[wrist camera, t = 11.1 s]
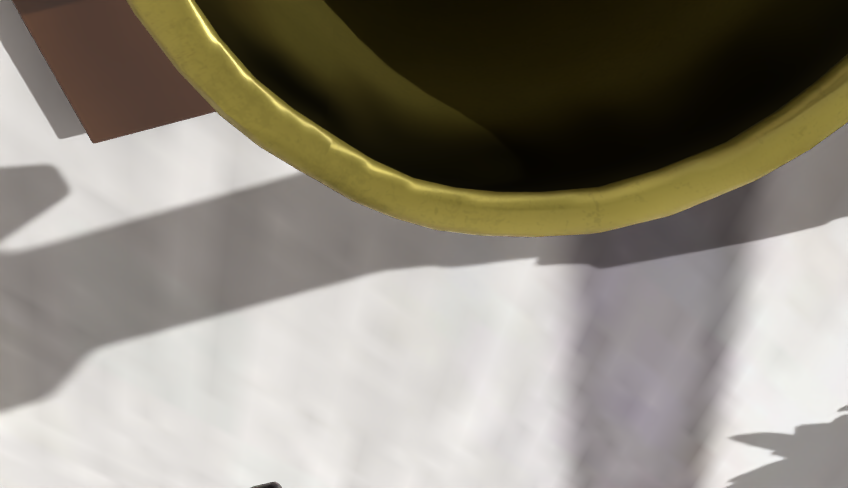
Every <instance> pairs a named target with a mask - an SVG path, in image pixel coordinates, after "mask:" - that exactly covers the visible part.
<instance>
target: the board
mask: <svg viewBox="0 0 848 488" xmlns="http://www.w3.org/2000/svg"><path fill="white" fill-rule="evenodd" d="M12 2H13V4H14V5H15V7H16V9H17V11H18V13H19V14H20V16H21V18H22V20H23V21H24V23H25V25H26V27H27V28H28V30H29V32H30V34H31V35H32V37H33V39H34V41H35V43H36V44H37V46H38V48H39V50H40V51H41V53H42V55H43V57H44V58H45V60H46V62H47V64H48V65H49V67H50V69H51V71H52V72H53V74H54V76H55V78H56V80H57V81H58V83H59V85H60V87H61V88H62V90H63V92H64V94H65V95H66V97H67V99H68V101H69V102H70V104H71V106H72V108H73V110H74V111H75V113H76V115H77V117H78V118H79V120H80V122H81V124H82V125H83V127H84V129H85V131H86V132H87V134H88V136H89V138H90V140H91V141H92V143H98V142H102V141H106V140H110V139H114V138H117V137H121V136H125V135H129V134H133V133H136V132H140V131H144V130H148V129H152V128H155V127H159V126H163V125H167V124H171V123H175V122H178V121H182V120H186V119H190V118H194V117H197V116H201V115H205V114H209V113H213V112H216V111H215V109H214V108H213V107H212V106H211V105H210V104H209V103H208V102H207V101H206V100H205V99H204V98H203V97H202V96H201V95H200V94H199V93H198V92H197V90H196V89H195V88H194V87H193V86H192V85H191V84H190V83H189V82H188V81H187V80H186V79H185V78H184V77H183V76H182V75H181V74H180V73H179V72H178V70H177V69H176V68H175V67H174V65H173V64H172V63H171V61H170V60H169V59H168V57H167V56H166V55H165V53H164V52H163V51H162V49H161V48H160V47H159V45H158V44H157V43H156V41H155V40H154V39H153V38H152V36H151V35H150V34H149V32H148V31H147V30H146V28H145V27H144V26H143V24H142V23H141V22H140V20H139V19H138V18H137V16H136V15H135V14H134V12H133V10H132V9H131V7H130V5H129V4H128V2H127V1H126V0H12Z"/></svg>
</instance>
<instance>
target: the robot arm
mask: <svg viewBox="0 0 848 488" xmlns="http://www.w3.org/2000/svg"><path fill="white" fill-rule="evenodd" d="M251 488H282V487H281V486H280V484H278V483H277V482H270V483H266V484H262V485H257V486H253V487H251Z"/></svg>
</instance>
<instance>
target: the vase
mask: <svg viewBox="0 0 848 488" xmlns="http://www.w3.org/2000/svg"><path fill="white" fill-rule="evenodd" d="M126 1H127V2H128V4H129V5H130V7H131V9H132V10H133V12H134V14H135V15H136V16H137V18H138V19H139V20H140V22H141V23H142V24H143V26H144V27H145V28H146V30H147V31H148V32H149V34H150V35H151V36H152V38H153V39H154V40H155V41H156V43H157V44H158V45H159V47H160V48H161V49H162V51H163V52H164V53H165V55H166V56H167V57H168V59H169V60H170V61H171V63H172V64H173V65H174V67H175V68H176V69H177V70H178V72H179V73H180V74H181V75H182V76H183V77H184V78H185V79H186V80H187V81H188V82H189V83H190V84H191V85H192V86H193V87H194V88H195V89H196V90H197V92H198V93H199V94H200V95H201V96H202V97H203V98H204V99H205V100H206V101H207V102H208V103H209V104H210V105H211V106H212V107H213V108H214V109H215V111H216V112H217V113H218V114H219V115H220V116H222V117H223V118H224V119H225V120H227V121H228V122H229V123H230V124H232V125H233V126H234V127H235V128H237V129H238V130H239V131H240V132H242V133H243V134H244V135H245V136H247V137H248V138H249V139H250V140H252V141H253V142H254V143H255V144H257V145H258V146H259V147H261V148H263V149H264V150H266V151H268V152H269V153H271V154H273V155H274V156H276V157H278V158H279V159H281V160H283V161H284V162H286V163H288V164H289V165H291V166H293V167H294V168H296V169H298V170H299V171H301V172H303V173H304V174H306V175H308V176H310V177H312V178H313V179H315V180H317V181H319V182H320V183H322V184H324V185H325V186H327V187H329V188H331V189H332V190H334V191H336V192H338V193H339V194H341V195H343V196H344V197H346V198H348V199H350V200H351V201H354V202H356V203H359V204H361V205H363V206H366V207H368V208H371V209H373V210H375V211H378V212H380V213H383V214H385V215H388V216H390V217H392V218H396V219H399V220H402V221H406V222H409V223H413V224H416V225H420V226H423V227H427V228H430V229H433V230H439V231H447V232H456V233H464V234H472V235H480V236H511V237H544V236H562V235H580V234H593V233H600V232H605V231H609V230H613V229H617V228H622V227H626V226H630V225H634V224H638V223H642V222H646V221H651V220H655V219H659V218H663V217H667V216H671V215H673V214H676V213H678V212H681V211H683V210H686V209H688V208H691V207H693V206H695V205H698V204H700V203H703V202H705V201H707V200H710V199H712V198H715V197H717V196H720V195H722V194H724V193H727V192H729V191H732V190H734V189H736V188H739V187H741V186H744V185H746V184H748V183H751V182H753V181H756V180H758V179H759V178H761V177H763V176H765V175H766V174H768V173H770V172H772V171H773V170H775V169H777V168H779V167H780V166H782V165H784V164H785V163H787V162H789V161H791V160H792V159H794V158H796V157H798V156H799V155H801V154H803V153H805V152H806V151H808V150H810V149H811V148H813V147H814V146H815V145H817V144H818V143H820V142H821V141H822V140H824V139H825V138H826V137H828V136H829V135H831V134H832V133H833V132H835V131H836V130H838V129H839V128H840V127H842V126H843V125H844V124H846V123H847V122H848V0H126Z"/></svg>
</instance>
